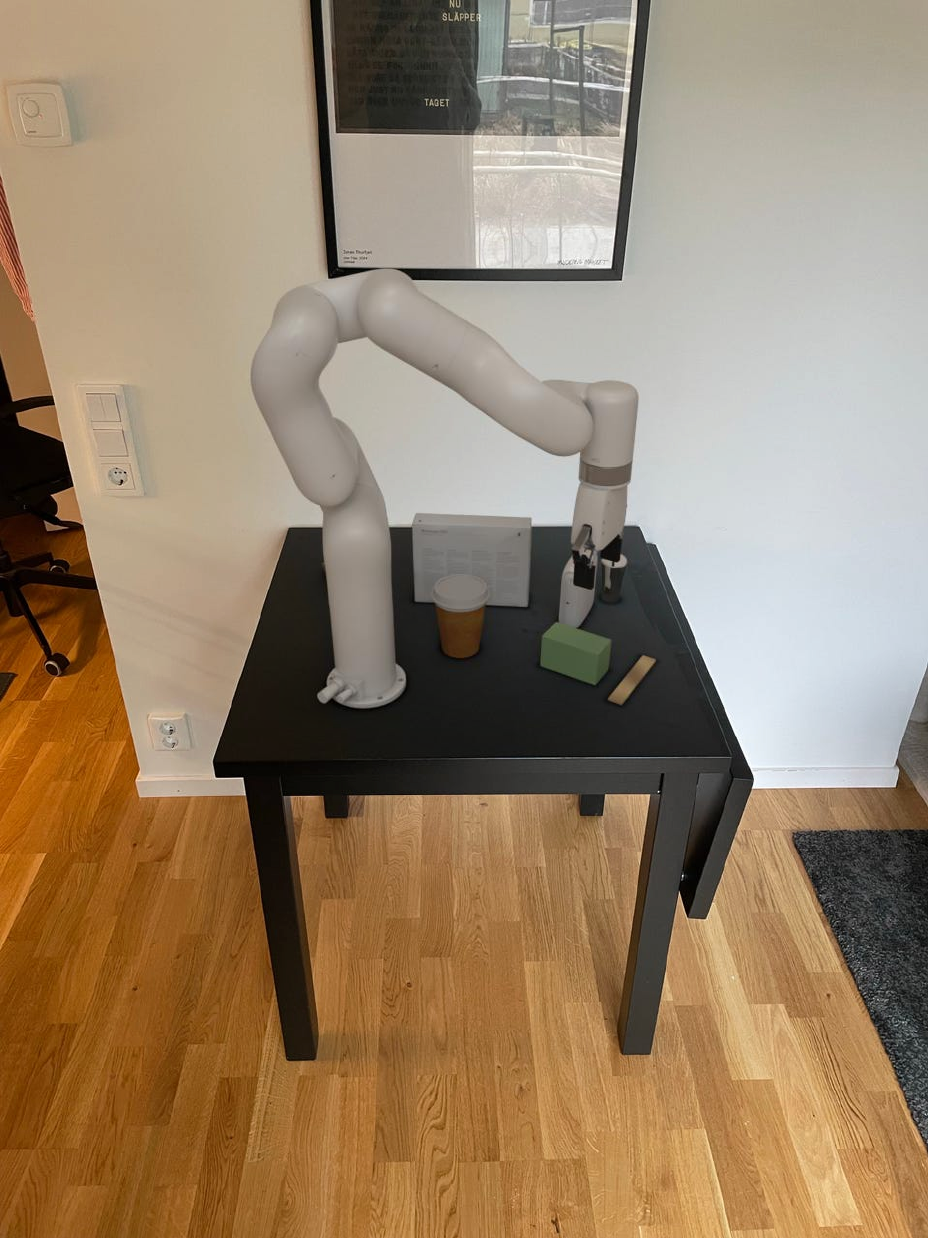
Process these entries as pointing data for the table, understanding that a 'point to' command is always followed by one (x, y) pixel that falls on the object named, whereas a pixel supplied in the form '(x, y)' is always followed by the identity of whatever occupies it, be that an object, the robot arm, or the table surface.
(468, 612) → the disposable coffee cup
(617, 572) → the milkshake
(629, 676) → the strip
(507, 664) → the table surface
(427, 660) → the table surface
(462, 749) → the table surface
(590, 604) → the photo printer
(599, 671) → the green box
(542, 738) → the table surface
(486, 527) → the skincare box
